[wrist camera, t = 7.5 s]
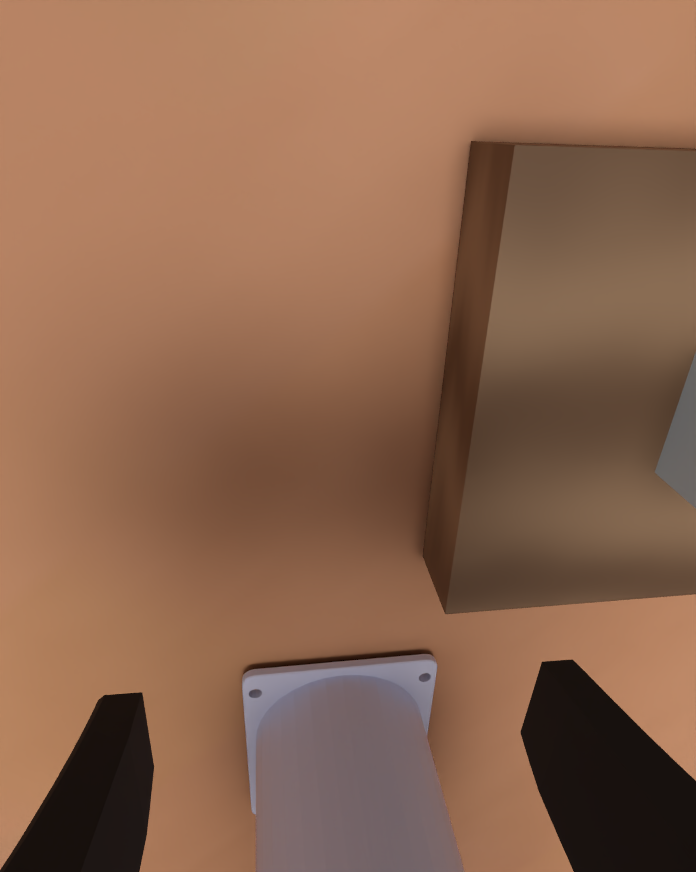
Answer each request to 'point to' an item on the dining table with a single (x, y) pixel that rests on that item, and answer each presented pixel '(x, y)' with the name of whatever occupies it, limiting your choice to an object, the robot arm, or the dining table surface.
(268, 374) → the dining table surface
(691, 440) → the grey block
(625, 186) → the walnut plinth
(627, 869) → the robot arm
